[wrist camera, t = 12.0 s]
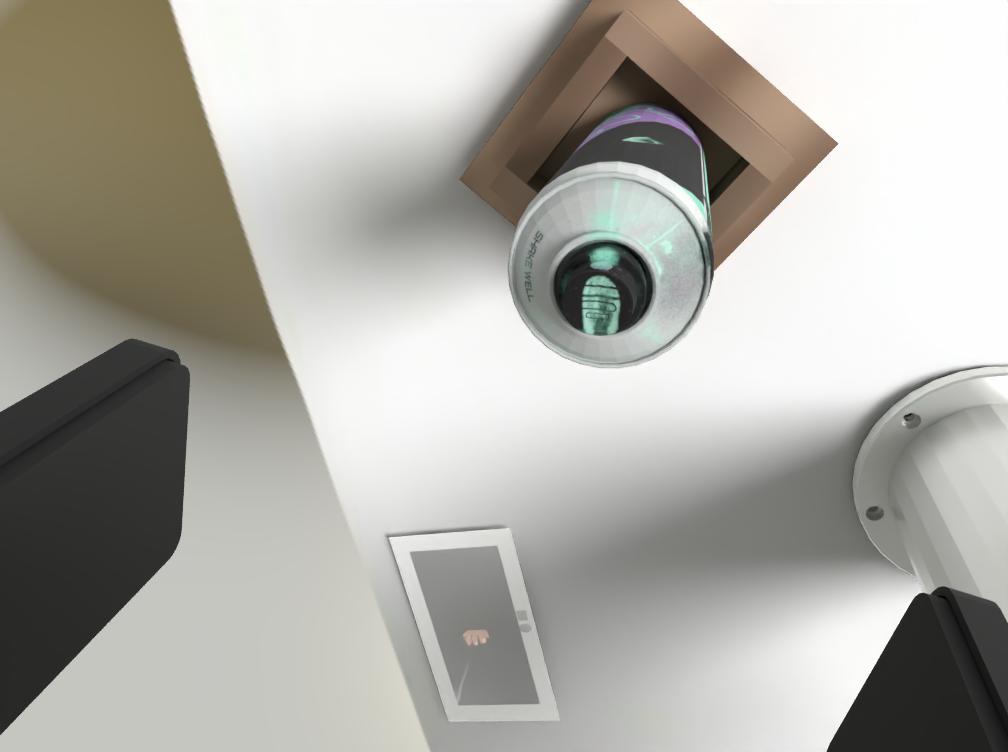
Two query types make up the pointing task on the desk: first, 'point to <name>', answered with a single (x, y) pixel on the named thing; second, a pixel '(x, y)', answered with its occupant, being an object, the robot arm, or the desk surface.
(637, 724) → the desk surface
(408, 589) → the touchpad
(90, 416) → the robot arm
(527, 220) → the spray can
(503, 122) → the display stand
